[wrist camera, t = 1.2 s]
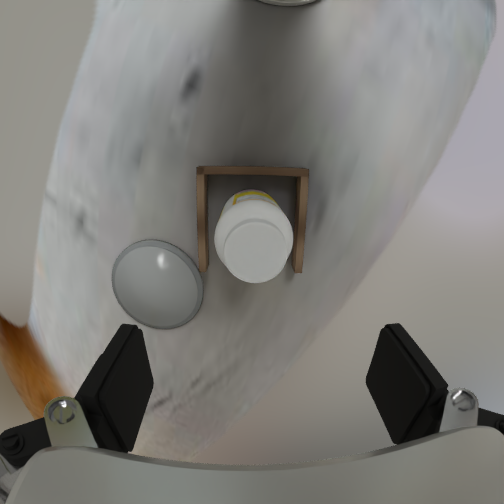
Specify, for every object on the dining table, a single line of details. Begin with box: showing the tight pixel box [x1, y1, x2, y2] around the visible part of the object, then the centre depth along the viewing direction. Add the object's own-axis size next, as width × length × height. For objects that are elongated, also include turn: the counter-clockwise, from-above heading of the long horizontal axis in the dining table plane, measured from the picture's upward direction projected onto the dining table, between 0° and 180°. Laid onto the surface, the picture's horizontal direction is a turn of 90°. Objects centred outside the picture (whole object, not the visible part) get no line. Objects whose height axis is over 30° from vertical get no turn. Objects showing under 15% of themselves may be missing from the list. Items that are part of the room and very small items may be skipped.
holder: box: [197, 166, 309, 273], centre depth 31 cm, size 12×12×2 cm
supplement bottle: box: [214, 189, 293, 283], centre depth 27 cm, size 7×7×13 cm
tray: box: [112, 240, 203, 329], centre depth 35 cm, size 12×12×1 cm
